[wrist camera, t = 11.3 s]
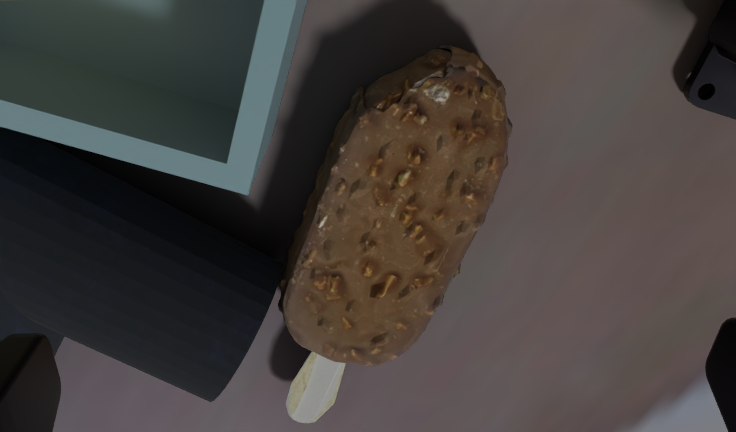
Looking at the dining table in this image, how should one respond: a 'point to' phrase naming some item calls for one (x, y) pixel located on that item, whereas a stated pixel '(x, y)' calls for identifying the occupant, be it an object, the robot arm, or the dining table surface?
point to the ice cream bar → (391, 217)
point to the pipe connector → (123, 271)
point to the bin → (151, 80)
